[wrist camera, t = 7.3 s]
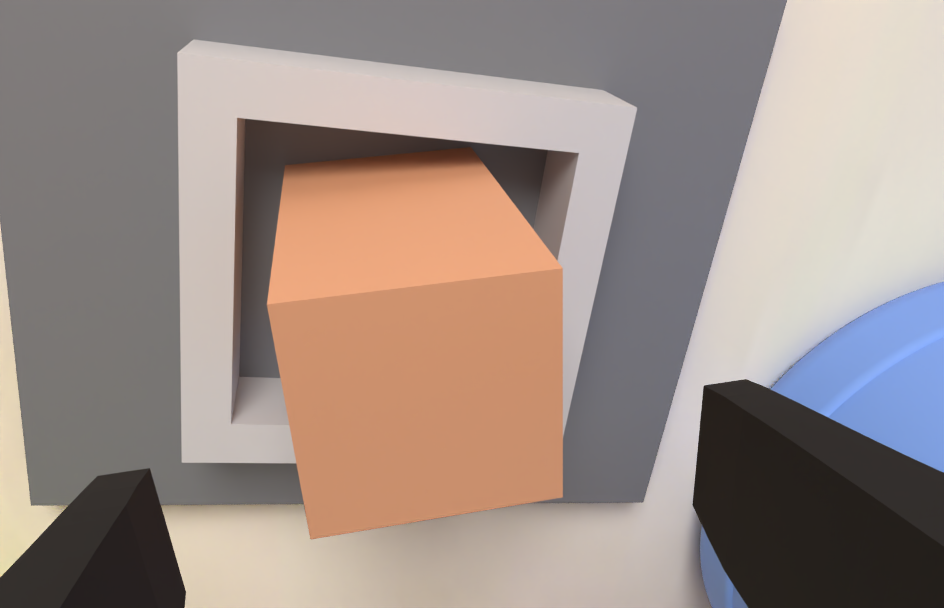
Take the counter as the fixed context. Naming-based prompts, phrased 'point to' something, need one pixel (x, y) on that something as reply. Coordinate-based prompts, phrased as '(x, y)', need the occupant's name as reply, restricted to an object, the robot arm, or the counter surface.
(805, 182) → the counter surface
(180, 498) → the mounting socket
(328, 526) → the wooden peg
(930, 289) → the water jug
